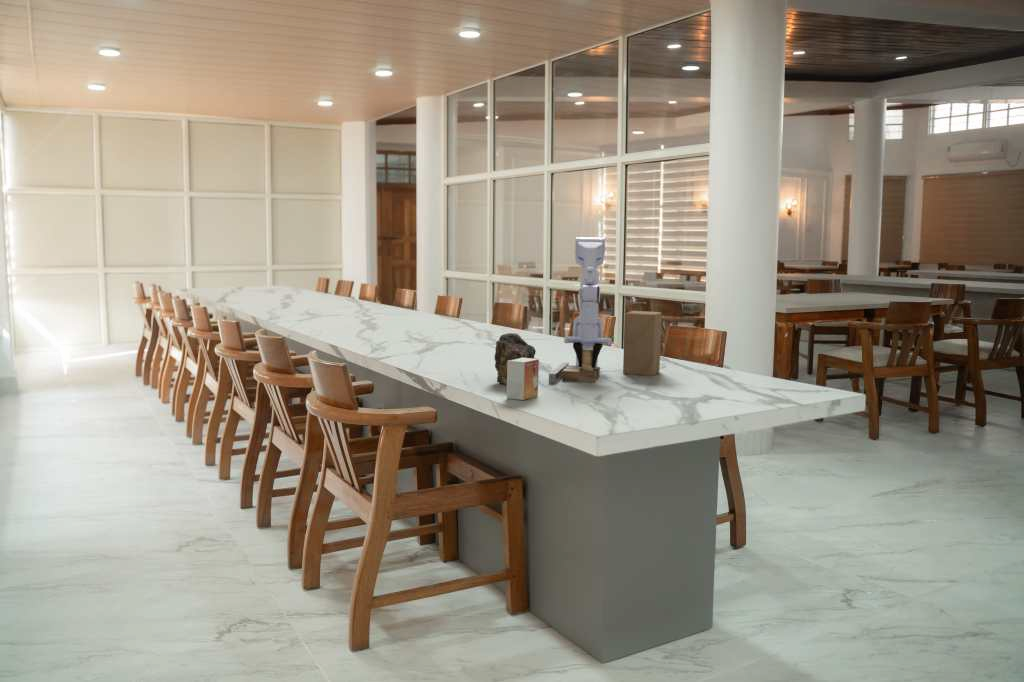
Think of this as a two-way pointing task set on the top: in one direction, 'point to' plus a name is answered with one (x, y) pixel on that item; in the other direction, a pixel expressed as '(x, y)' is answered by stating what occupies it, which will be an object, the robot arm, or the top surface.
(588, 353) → the dowel
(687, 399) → the top surface
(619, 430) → the top surface
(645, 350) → the wooden block
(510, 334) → the rock
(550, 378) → the rail
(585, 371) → the block
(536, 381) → the small box
